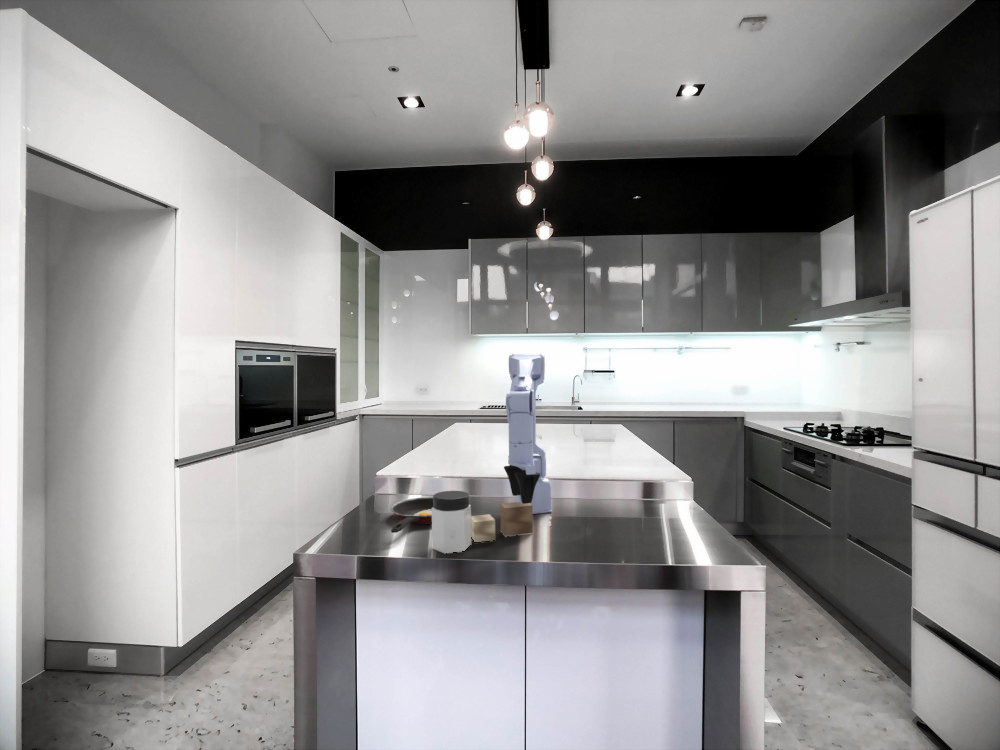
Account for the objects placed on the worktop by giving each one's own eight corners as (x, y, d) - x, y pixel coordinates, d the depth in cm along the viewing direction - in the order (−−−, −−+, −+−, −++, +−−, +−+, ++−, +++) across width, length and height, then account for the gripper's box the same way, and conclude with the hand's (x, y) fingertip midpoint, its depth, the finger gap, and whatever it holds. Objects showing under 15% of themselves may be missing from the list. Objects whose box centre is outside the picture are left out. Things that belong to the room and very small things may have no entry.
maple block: (490, 534, 130) (489, 514, 130) (495, 541, 125) (495, 520, 125) (469, 536, 129) (469, 516, 128) (474, 543, 124) (474, 522, 124)
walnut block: (527, 529, 134) (527, 501, 133) (532, 534, 130) (532, 505, 130) (500, 531, 132) (500, 503, 131) (505, 537, 128) (504, 508, 128)
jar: (434, 555, 116) (433, 500, 116) (430, 543, 124) (429, 492, 124) (474, 551, 118) (473, 497, 118) (468, 539, 126) (467, 489, 126)
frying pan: (467, 508, 153) (467, 495, 153) (433, 547, 122) (432, 531, 121) (405, 506, 156) (404, 493, 156) (356, 543, 125) (355, 527, 125)
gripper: (547, 445, 120) (548, 505, 120) (527, 436, 134) (527, 490, 134) (517, 447, 118) (518, 508, 118) (500, 438, 132) (500, 492, 132)
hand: (521, 499), depth 126 cm, fingers open, 7 cm apart
